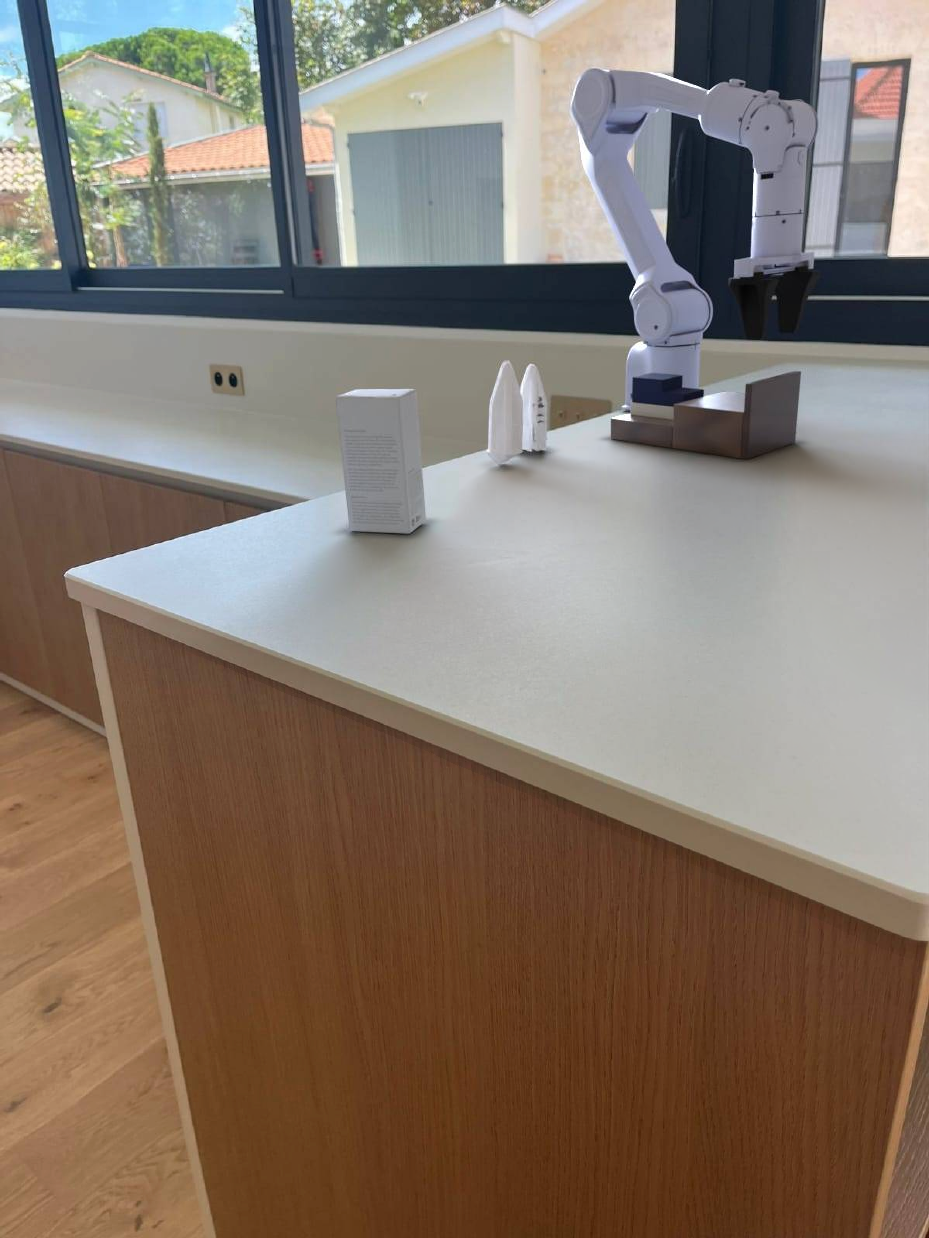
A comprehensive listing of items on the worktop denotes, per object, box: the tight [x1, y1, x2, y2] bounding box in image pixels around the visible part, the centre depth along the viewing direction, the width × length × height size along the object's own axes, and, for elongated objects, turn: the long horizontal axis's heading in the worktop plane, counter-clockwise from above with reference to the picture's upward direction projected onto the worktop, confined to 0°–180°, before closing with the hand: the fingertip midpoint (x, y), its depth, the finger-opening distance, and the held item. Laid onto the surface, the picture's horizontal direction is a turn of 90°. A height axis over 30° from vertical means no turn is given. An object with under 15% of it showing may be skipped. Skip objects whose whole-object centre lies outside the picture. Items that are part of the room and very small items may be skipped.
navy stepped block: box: [629, 373, 705, 420], centre depth 113 cm, size 8×4×4 cm, turn 43°
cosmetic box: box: [334, 388, 427, 534], centre depth 83 cm, size 6×4×12 cm
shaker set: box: [486, 360, 548, 466], centre depth 106 cm, size 12×4×11 cm, turn 152°
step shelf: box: [610, 370, 802, 460], centre depth 110 cm, size 19×10×8 cm, turn 43°
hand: (771, 336), depth 116 cm, fingers open, 7 cm apart
